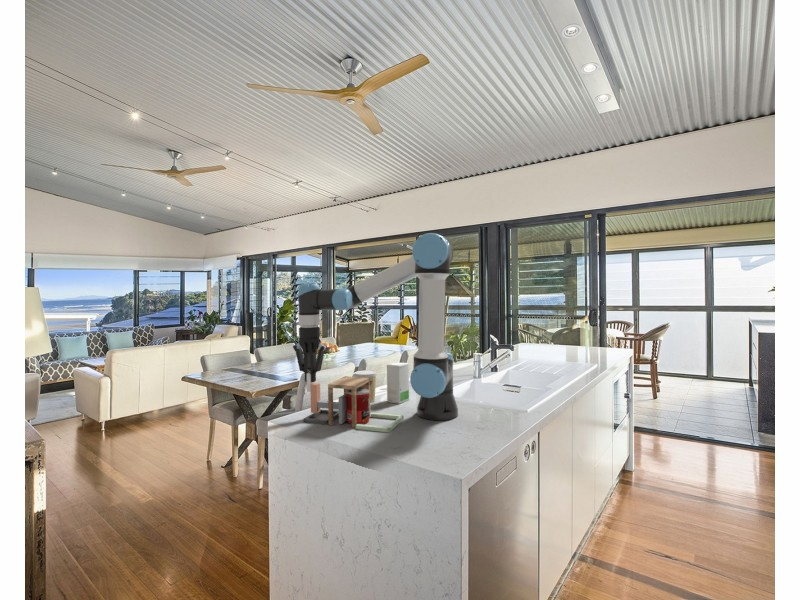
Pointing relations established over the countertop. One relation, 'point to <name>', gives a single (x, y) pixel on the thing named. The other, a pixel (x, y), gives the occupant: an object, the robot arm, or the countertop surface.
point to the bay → (381, 428)
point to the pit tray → (320, 417)
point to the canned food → (359, 405)
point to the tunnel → (346, 384)
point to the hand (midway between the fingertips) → (310, 390)
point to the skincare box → (397, 382)
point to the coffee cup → (372, 381)
